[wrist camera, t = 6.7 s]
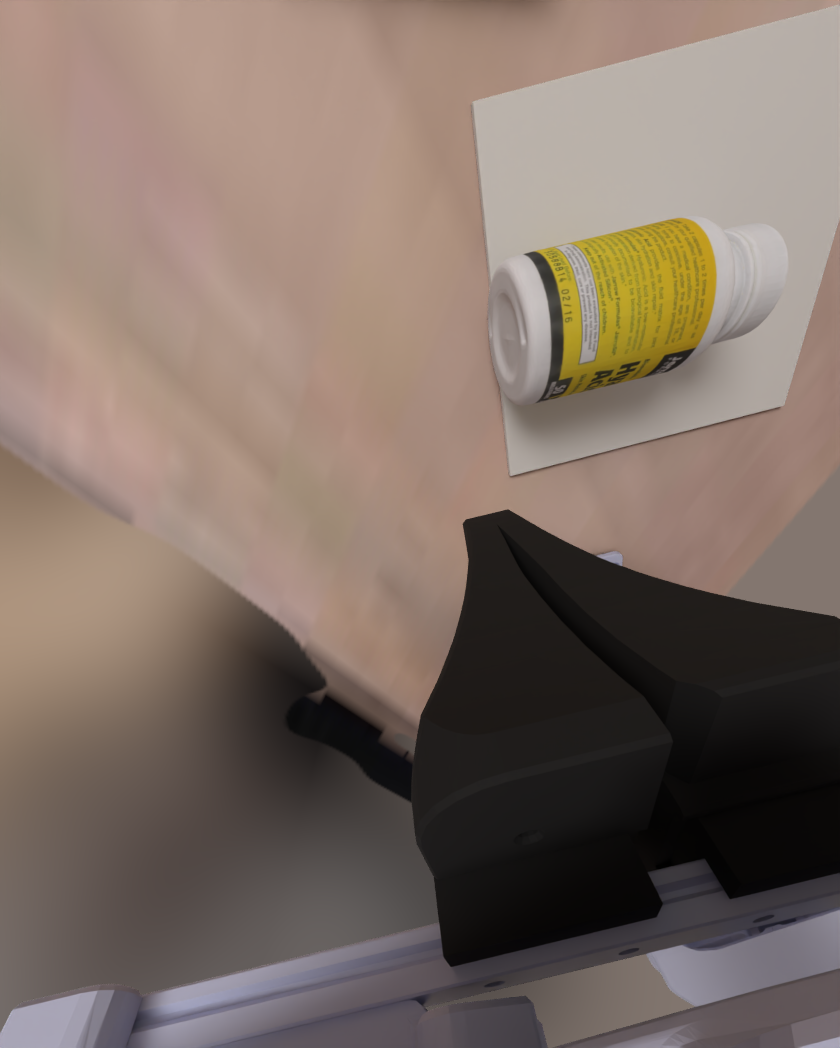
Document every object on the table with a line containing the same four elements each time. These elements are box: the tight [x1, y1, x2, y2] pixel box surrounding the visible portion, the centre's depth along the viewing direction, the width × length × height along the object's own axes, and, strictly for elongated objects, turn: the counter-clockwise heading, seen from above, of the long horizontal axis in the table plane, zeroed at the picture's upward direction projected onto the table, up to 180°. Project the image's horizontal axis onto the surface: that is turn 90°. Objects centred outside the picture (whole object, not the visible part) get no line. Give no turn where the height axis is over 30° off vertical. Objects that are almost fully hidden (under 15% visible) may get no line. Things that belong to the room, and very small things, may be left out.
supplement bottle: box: [488, 216, 788, 406], centre depth 15 cm, size 5×5×10 cm
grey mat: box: [471, 5, 840, 476], centre depth 17 cm, size 15×16×1 cm
